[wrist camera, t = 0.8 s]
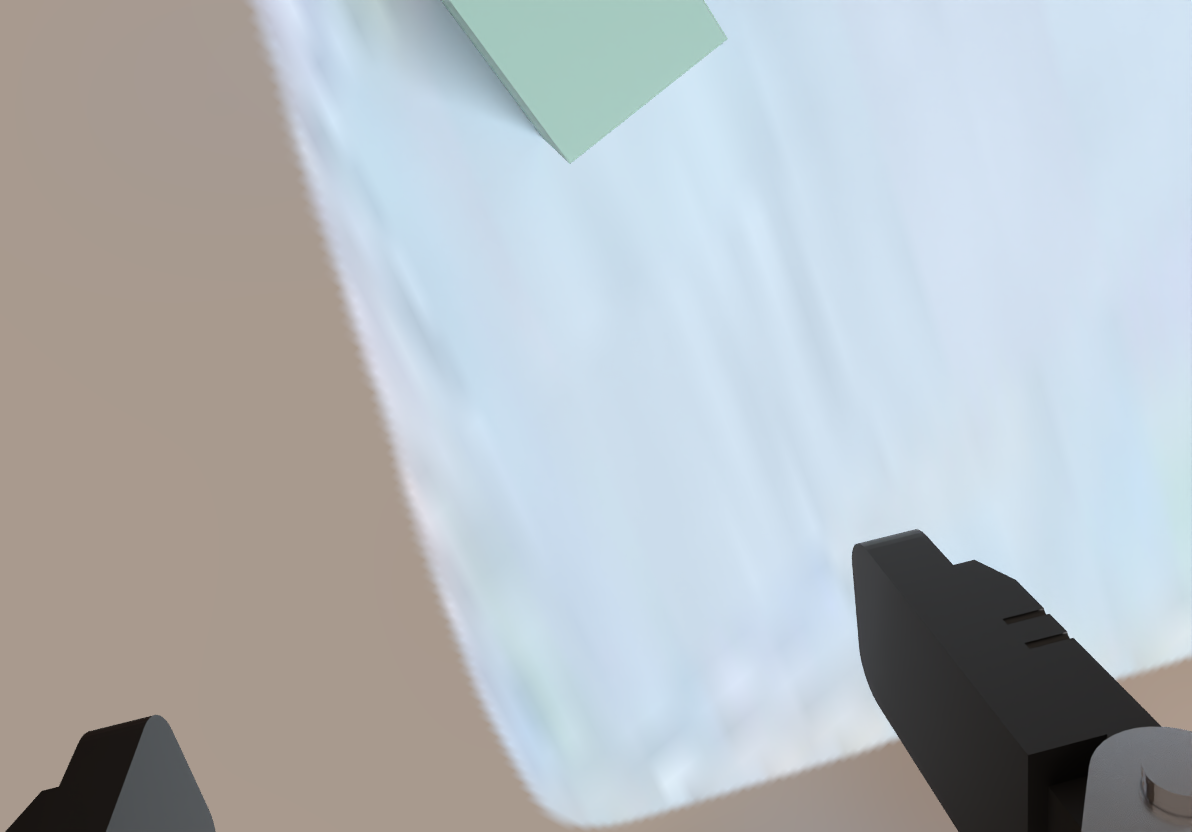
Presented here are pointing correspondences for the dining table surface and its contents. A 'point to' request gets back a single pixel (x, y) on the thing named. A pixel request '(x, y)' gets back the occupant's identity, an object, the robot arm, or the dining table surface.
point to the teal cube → (586, 57)
